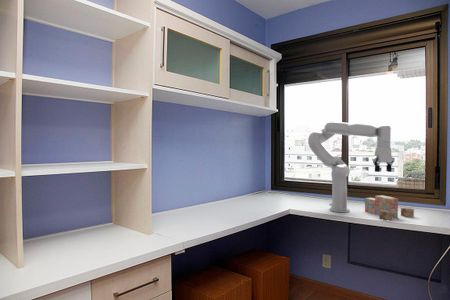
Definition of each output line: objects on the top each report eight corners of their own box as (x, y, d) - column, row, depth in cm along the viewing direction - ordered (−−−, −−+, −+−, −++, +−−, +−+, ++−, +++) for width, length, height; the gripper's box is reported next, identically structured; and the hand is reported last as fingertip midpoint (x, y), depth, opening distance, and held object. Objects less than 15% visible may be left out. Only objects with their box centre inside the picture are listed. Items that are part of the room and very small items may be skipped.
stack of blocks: (364, 211, 203) (364, 193, 203) (372, 210, 204) (372, 193, 204) (390, 218, 182) (390, 198, 182) (398, 217, 184) (398, 198, 184)
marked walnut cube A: (379, 219, 180) (379, 210, 180) (384, 218, 183) (384, 209, 183) (387, 220, 176) (387, 212, 176) (392, 219, 179) (392, 211, 179)
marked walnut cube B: (400, 215, 190) (400, 207, 190) (407, 215, 191) (407, 207, 191) (406, 217, 185) (406, 209, 185) (413, 217, 186) (413, 209, 186)
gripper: (388, 145, 195) (388, 170, 196) (368, 144, 190) (367, 171, 190) (398, 145, 188) (398, 171, 189) (378, 144, 183) (377, 172, 183)
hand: (383, 171), depth 189 cm, fingers open, 9 cm apart
